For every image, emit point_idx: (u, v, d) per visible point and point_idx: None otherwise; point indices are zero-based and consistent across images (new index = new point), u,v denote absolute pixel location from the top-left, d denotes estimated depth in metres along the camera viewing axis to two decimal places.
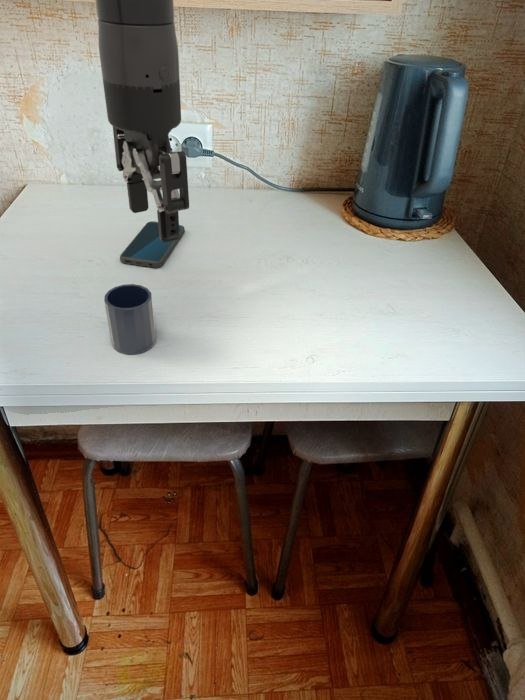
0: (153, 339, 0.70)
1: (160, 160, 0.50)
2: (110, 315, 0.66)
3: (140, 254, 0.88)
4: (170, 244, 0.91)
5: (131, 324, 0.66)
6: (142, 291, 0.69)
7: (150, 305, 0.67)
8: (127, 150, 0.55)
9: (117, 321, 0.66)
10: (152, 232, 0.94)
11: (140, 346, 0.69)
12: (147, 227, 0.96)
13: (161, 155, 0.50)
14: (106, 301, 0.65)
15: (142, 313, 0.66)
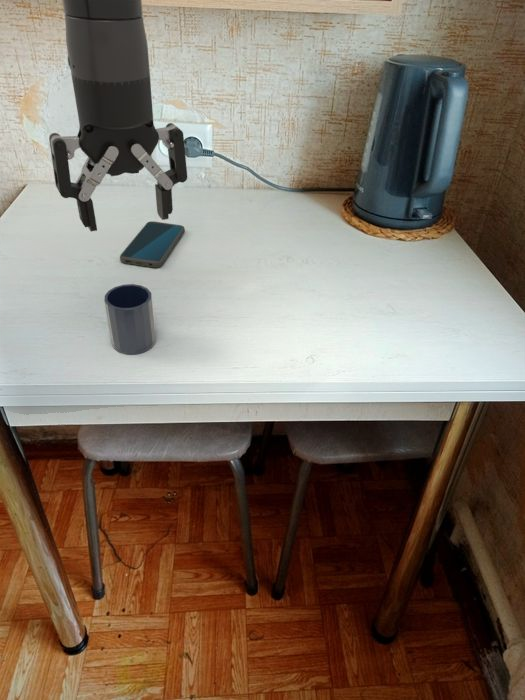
0: (153, 339, 0.70)
1: (178, 134, 0.56)
2: (110, 315, 0.66)
3: (140, 254, 0.88)
4: (170, 244, 0.91)
5: (131, 324, 0.66)
6: (142, 291, 0.69)
7: (150, 305, 0.67)
8: (116, 153, 0.53)
9: (117, 321, 0.66)
10: (152, 232, 0.94)
11: (140, 346, 0.69)
12: (147, 227, 0.96)
13: (177, 130, 0.55)
14: (106, 301, 0.65)
15: (142, 313, 0.66)
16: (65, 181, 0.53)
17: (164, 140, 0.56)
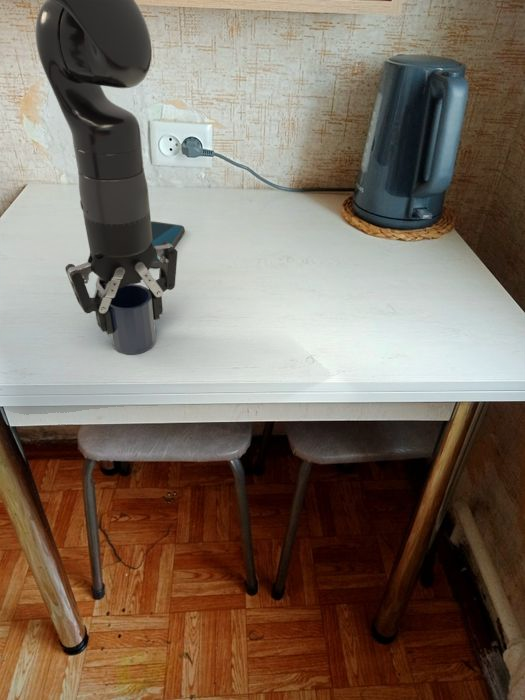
0: (153, 339, 0.70)
1: (173, 253, 0.65)
2: None
3: None
4: None
5: (131, 324, 0.66)
6: (142, 291, 0.69)
7: (150, 305, 0.67)
8: (123, 272, 0.62)
9: (117, 321, 0.66)
10: (152, 232, 0.94)
11: (140, 346, 0.69)
12: None
13: (173, 249, 0.65)
14: None
15: (142, 313, 0.66)
16: (86, 301, 0.62)
17: (160, 256, 0.65)
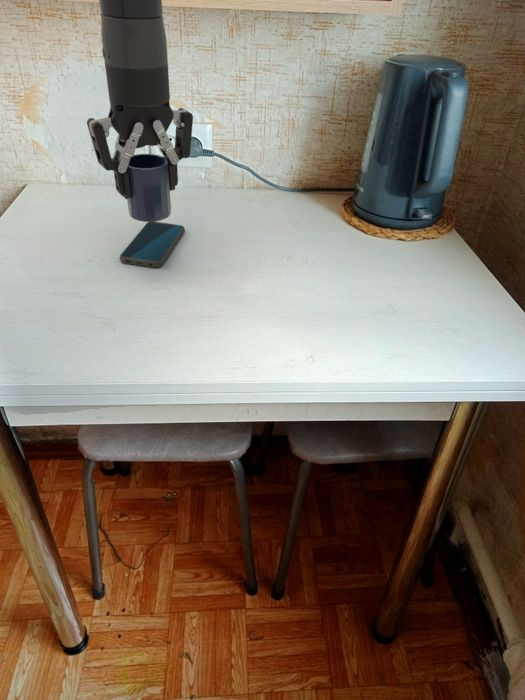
0: (169, 209, 0.73)
1: (189, 117, 0.68)
2: None
3: (140, 254, 0.88)
4: (170, 244, 0.91)
5: (149, 187, 0.69)
6: (158, 160, 0.71)
7: (167, 170, 0.70)
8: (141, 128, 0.65)
9: (135, 183, 0.69)
10: (152, 232, 0.94)
11: (156, 213, 0.71)
12: (147, 227, 0.96)
13: (189, 113, 0.68)
14: None
15: (159, 175, 0.69)
16: (106, 156, 0.65)
17: (176, 120, 0.68)
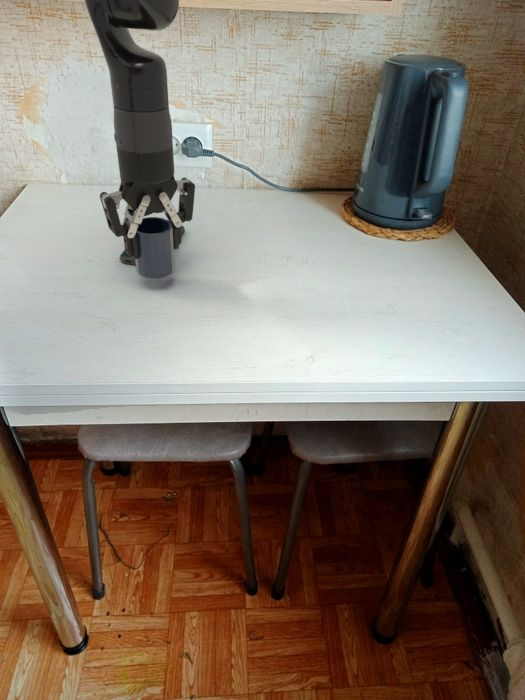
0: (173, 266, 0.80)
1: (192, 186, 0.75)
2: None
3: None
4: None
5: (155, 249, 0.76)
6: (163, 223, 0.78)
7: (171, 233, 0.77)
8: (149, 199, 0.72)
9: (142, 246, 0.75)
10: None
11: (162, 271, 0.78)
12: None
13: (191, 183, 0.75)
14: None
15: (164, 239, 0.75)
16: (117, 225, 0.72)
17: (180, 189, 0.75)
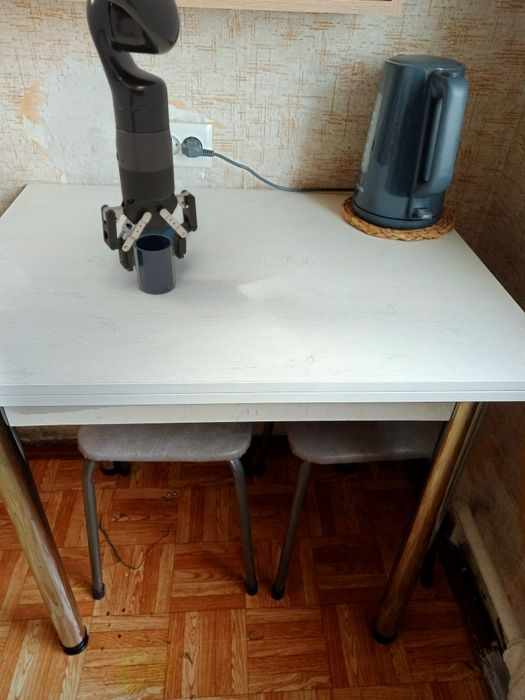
0: (173, 282, 0.82)
1: (192, 199, 0.76)
2: (138, 258, 0.77)
3: None
4: None
5: (156, 266, 0.78)
6: (164, 239, 0.80)
7: (172, 250, 0.79)
8: (150, 217, 0.73)
9: (144, 263, 0.77)
10: (152, 232, 0.94)
11: (163, 287, 0.80)
12: None
13: (191, 195, 0.76)
14: (135, 246, 0.77)
15: (165, 256, 0.77)
16: (113, 238, 0.73)
17: (181, 203, 0.77)
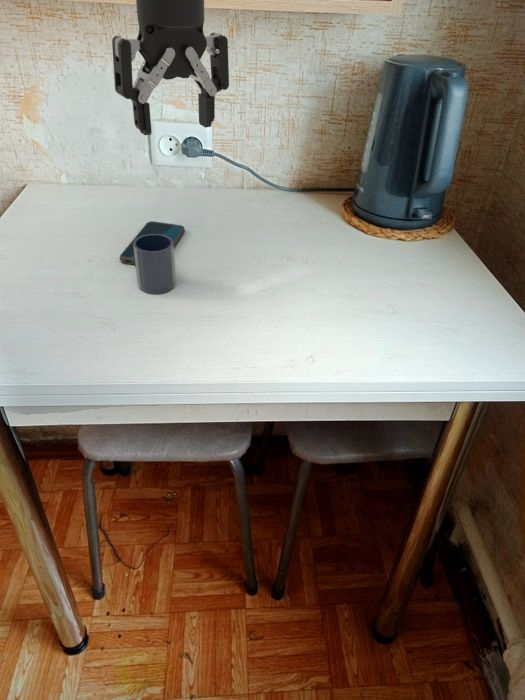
0: (173, 282, 0.82)
1: (224, 41, 0.61)
2: (138, 258, 0.77)
3: None
4: None
5: (156, 266, 0.78)
6: (164, 239, 0.80)
7: (172, 250, 0.79)
8: (173, 55, 0.58)
9: (144, 263, 0.77)
10: (152, 232, 0.94)
11: (163, 287, 0.80)
12: (147, 227, 0.96)
13: (223, 36, 0.61)
14: (135, 246, 0.77)
15: (165, 256, 0.77)
16: (128, 81, 0.58)
17: (210, 47, 0.62)
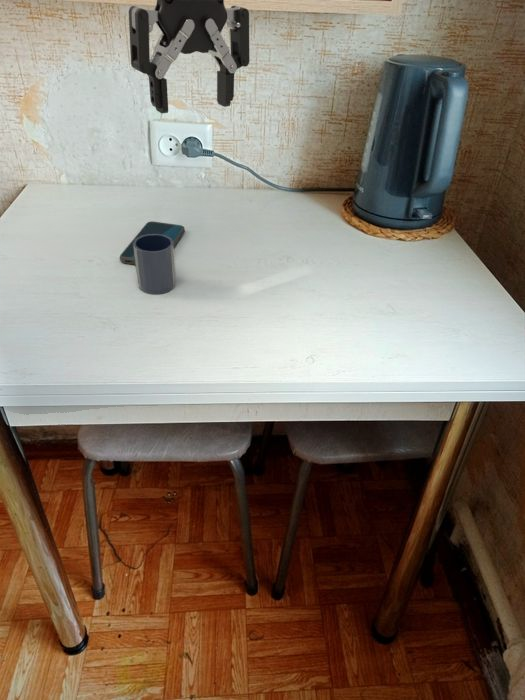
0: (173, 282, 0.82)
1: (245, 14, 0.58)
2: (138, 258, 0.77)
3: None
4: None
5: (156, 266, 0.78)
6: (164, 239, 0.80)
7: (172, 250, 0.79)
8: (192, 27, 0.55)
9: (144, 263, 0.77)
10: (152, 232, 0.94)
11: (163, 287, 0.80)
12: (147, 227, 0.96)
13: (244, 9, 0.58)
14: (135, 246, 0.77)
15: (165, 256, 0.77)
16: (145, 55, 0.55)
17: (231, 20, 0.59)
